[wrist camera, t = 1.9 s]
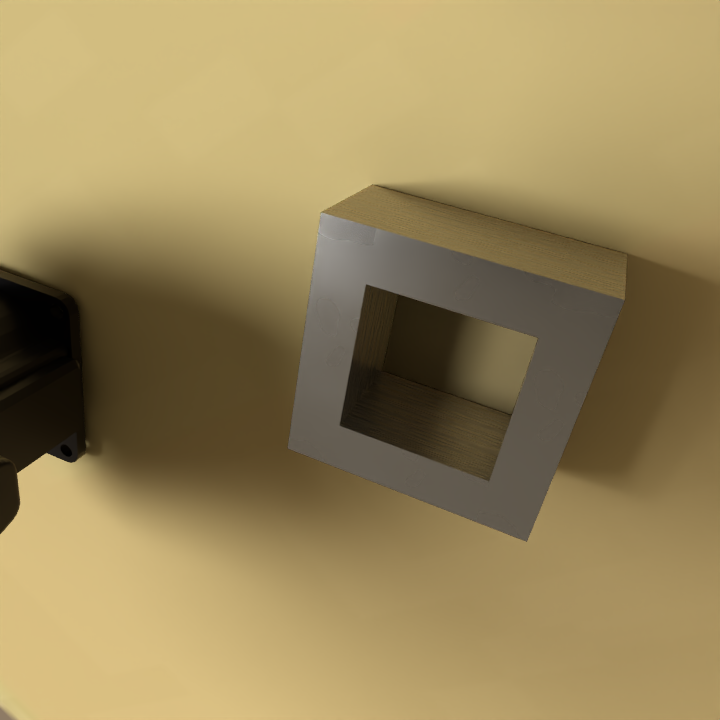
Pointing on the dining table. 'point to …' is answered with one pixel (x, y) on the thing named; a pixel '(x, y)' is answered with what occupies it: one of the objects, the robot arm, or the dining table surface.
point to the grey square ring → (430, 406)
